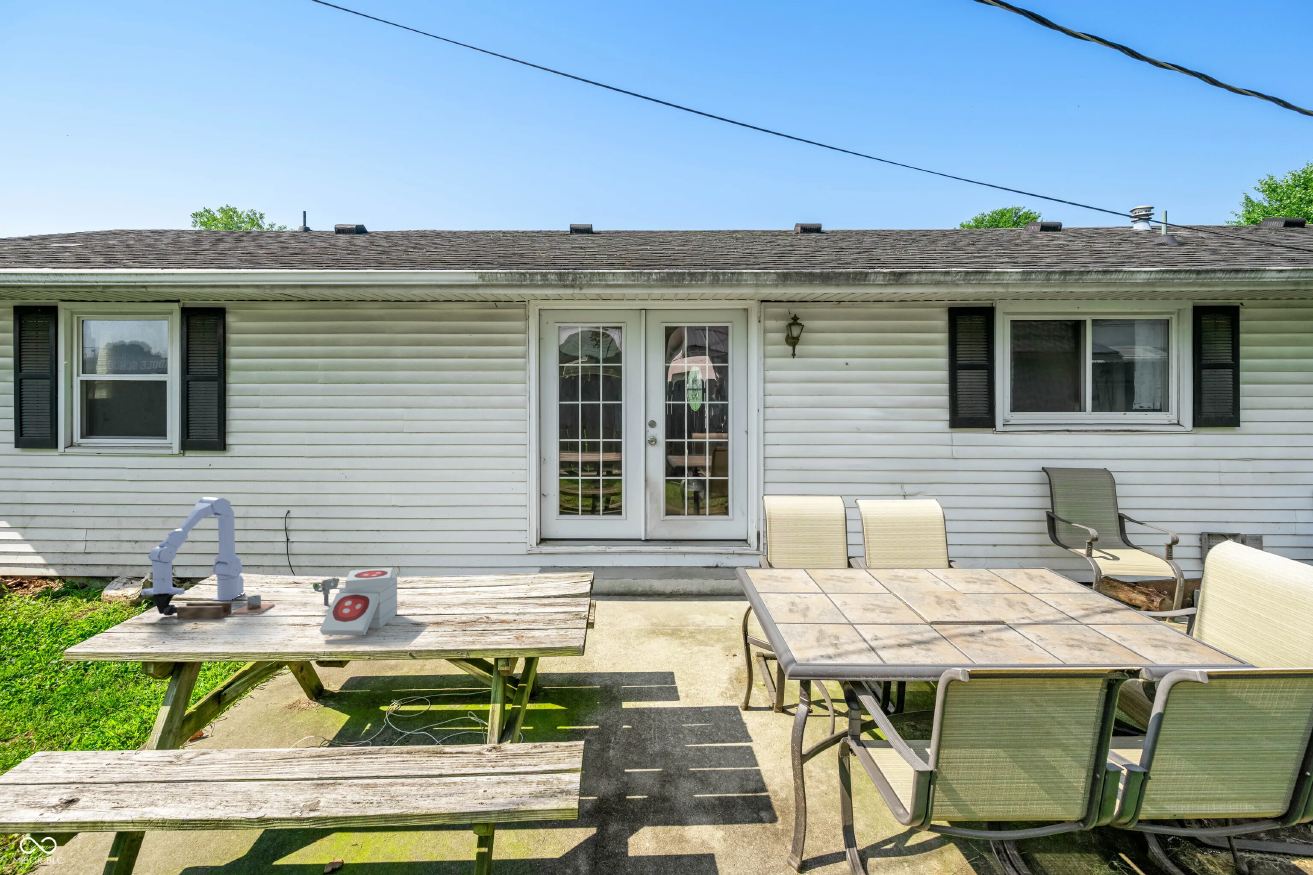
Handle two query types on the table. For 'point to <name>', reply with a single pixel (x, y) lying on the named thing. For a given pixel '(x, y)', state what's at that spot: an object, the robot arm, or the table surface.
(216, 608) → the shaft housing
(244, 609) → the terracotta tile
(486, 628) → the table surface
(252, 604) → the block
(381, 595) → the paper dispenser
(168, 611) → the shaft
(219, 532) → the robot arm
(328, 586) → the mechanical component
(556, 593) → the table surface
